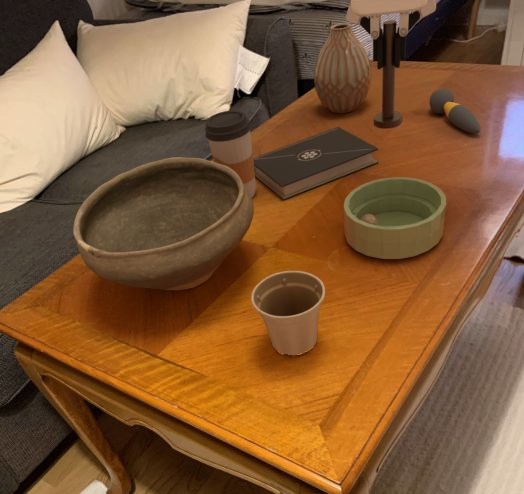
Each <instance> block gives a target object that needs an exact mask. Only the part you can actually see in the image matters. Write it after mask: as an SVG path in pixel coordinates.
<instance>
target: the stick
mask: <svg viewBox="0 0 524 494" xmlns="http://www.w3.org/2000/svg"><path fill="white" fill-rule="evenodd" d="M382 30H383V68H382V85H381V86H382V88H381V89H382V92H381V94H382V95H381V100H382V101H381V111H380V112H378V113H376V114H375V115H374V116H373V126H374V127H375V128H377V129H383V130H386V129H387V130H388V129H394V128H397V127H399V126H400V125H402V123H403V114H402V113H401V112H400V111H399V110H398V111H397V110H395V91H396V89H395V88H396V67H394V61H395V37H396V33H397V20H394V19H389V20H385V21H383V23H382Z"/></svg>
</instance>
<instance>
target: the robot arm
mask: <svg viewBox="0 0 524 494" xmlns="http://www.w3.org/2000/svg"><path fill="white" fill-rule="evenodd" d="M436 9H437V3H436V0H350V2H349V5H348V8H347V12H346V14H345V21H347V23H352V24H353V25H356V26H357V25H358V26H360V27H362V29H363V30H364V31H365V32H366V33H367V34H368V35H369V36H370V38H371V39H372V61H373V63H374V62H376V63H377V64H376V67H377V68H376V69H377V70H382V69H383V28H382V15H393V14H399V21H398V22H399V24H398V27H397V28H396V37H395V61H394V67H395V69H399V68H400V66H401V60H405V59H406V51H407V49H406V48H407V35H408V33H409V32H410V31H411V30H412V28H414V26H415V25H416V24H417V23H418V21H420V20H421V19H424V18H425V17H427V16H429V15H431V14H433V13H434V12H436Z"/></svg>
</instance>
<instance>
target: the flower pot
mask: <svg viewBox="0 0 524 494" xmlns="http://www.w3.org/2000/svg"><path fill="white" fill-rule="evenodd" d="M325 296H326V287H325V284H324V282H323V281H322V280H321V279H320V278H319V277H318V276H317V275H315V274H313V273H310V272H307V271H304V270H303V271H302V270H284V271H279V272H276V273H272V274H271V275H268V276H267V277H265V278H263V279H261V280H260V281H259V282H258V283H257V284H256V285H255V286H254V287H253V290H252V291H251V295H250V300H251V304H252V306H253V308H254V310H256V311H257V313H258V315H259V316H260V317H261V318H262V321H263V323H264V326H265V328H266V332H267V334H268V337H269V340H270V342H271V345H272V347H273V349H274V348H275V349H276V350H277V351H279V352H280V353H283V354H288V355H287V356H290V355H297V354H300V353H304V352H305V351H308V350H309V349H310V348H312V347H313V346H314V345H315V346H316V344H317V342H318V330H319V317H320V309H321V307H322V304H323V302H324V299H325ZM315 346H314V347H315ZM314 347H313V348H314ZM275 349H274V350H275ZM276 350H275V351H276ZM277 351H276V352H277ZM280 353H279V354H280Z"/></svg>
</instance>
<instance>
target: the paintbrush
mask: <svg viewBox="0 0 524 494" xmlns="http://www.w3.org/2000/svg"><path fill="white" fill-rule="evenodd" d="M429 107H430V109H431V111H432V112H433V113H435V114H438V115H443V114H445V115H446V117H447V119H448V121H449V122H450V123H451V124H452V125H454V126H455V127H457V128H459V129H460V130H462V131H464V132H466V133H468V134H473V135H476V134H477V135H478V134H480V133H481V125H480V123H479V121H478V119H477V118H476V116H475V115H474V114H473V112H472V111H470V110H469V109H468V108H467V107H466V106H464V105H463V104H460V103H457V102H455V96H454V92H452V91H451V90H450V89H448V88H439V89H437V90H434V91H433V92H432V93H431V95H430V97H429Z"/></svg>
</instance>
